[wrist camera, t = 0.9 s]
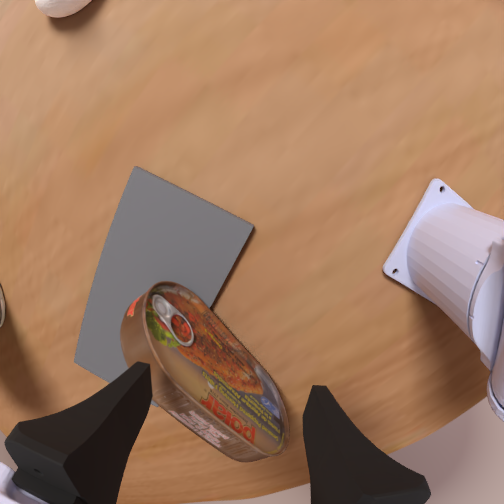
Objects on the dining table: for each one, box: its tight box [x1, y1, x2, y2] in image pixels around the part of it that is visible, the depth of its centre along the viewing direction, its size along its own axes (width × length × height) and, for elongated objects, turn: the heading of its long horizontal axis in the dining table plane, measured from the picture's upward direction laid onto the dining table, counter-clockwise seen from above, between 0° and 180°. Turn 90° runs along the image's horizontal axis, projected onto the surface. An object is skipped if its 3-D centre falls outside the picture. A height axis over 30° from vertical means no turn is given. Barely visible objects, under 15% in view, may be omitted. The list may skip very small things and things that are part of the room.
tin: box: [120, 281, 290, 462], centre depth 19 cm, size 15×3×8 cm, turn 35°
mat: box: [74, 166, 254, 407], centre depth 23 cm, size 9×19×1 cm, turn 152°
